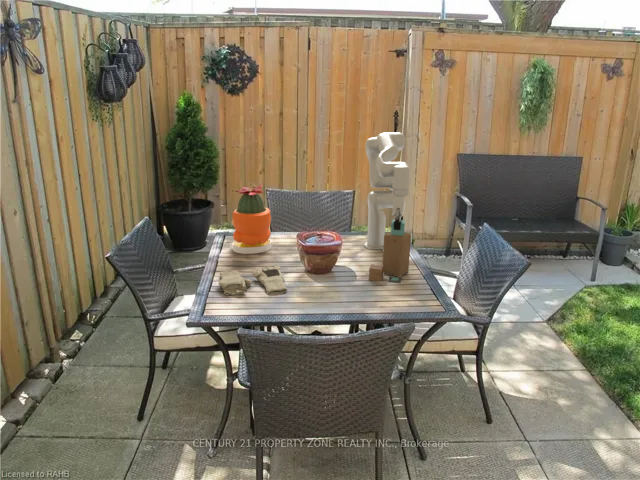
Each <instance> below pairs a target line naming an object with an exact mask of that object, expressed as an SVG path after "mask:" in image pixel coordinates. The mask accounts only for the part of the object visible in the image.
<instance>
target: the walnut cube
mask: <svg viewBox="0 0 640 480" xmlns="http://www.w3.org/2000/svg"><path fill="white" fill-rule="evenodd" d="M383 270H384V265H382V264H379V263H378V264H376V263H370V266H369V268H368V280H369V281H377V282H382V280H383V278H384V273H383Z"/></svg>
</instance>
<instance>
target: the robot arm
mask: <svg viewBox="0 0 640 480" xmlns="http://www.w3.org/2000/svg"><path fill="white" fill-rule="evenodd" d="M364 145H365V149H364V150H365V153H366V158H367V160H368V164H369V171H368V172H369V175H368V176H369V184H370V187H371V188H373V189H389V190H373V191H372V190H371V191H369V193H368V194H367V206H368V207H367V211H368V213H367V215H368V216H367V220H368V221H367V238H366V239H367V240H366V241H365V242H364V244H363V247H364V248H366V249H368V250H374V251H376V250H377V251H379V250H383V246H384V235H385V234H386V219H387V218H386V214H385V212H384V211H383V210H382V209H392V213H391V214H392V215H391V216H392V217H394V219H395V220H394V230H400V229H401V222H400V221H401V220H404V213H405V207H406V197H408V196H409V191H410V187H409V186H410V177H411V168H410V166H409V165H408V163H407V162H405V161H393V160H395V159H396V158H397V157H398V155H399V152H400V151H402V150H403V149H404V148H405V145H406V137H405V135H404V134H403V133H402V132H399V131H398V132H397V131H396V132H395V131H394V132H392V131H390V132H389V131H387V132H386V131H385V132H382V133H379V134H378V135H377V136H374V137H369V138H367V139H366V141H365V144H364Z"/></svg>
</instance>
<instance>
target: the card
mask: <svg viewBox="0 0 640 480" xmlns="http://www.w3.org/2000/svg"><path fill="white" fill-rule="evenodd" d="M402 279H403V277H401V276H400V277H397V276H392V275H391V276H388V280H387V282H388V283H394V284H395V283H396V284H401V283H402Z"/></svg>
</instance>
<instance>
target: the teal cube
mask: <svg viewBox="0 0 640 480" xmlns="http://www.w3.org/2000/svg"><path fill="white" fill-rule="evenodd" d="M394 220H395V218H394V219H392V220H391V224H390V225H391V226H390V232H391V235H399V236H404V233H405V232H406V220H404V219H403V220H401V221H400V222H401V229H400V230H394Z"/></svg>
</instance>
